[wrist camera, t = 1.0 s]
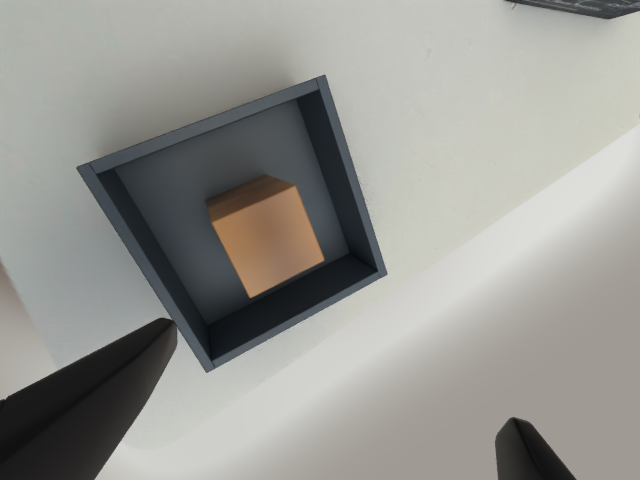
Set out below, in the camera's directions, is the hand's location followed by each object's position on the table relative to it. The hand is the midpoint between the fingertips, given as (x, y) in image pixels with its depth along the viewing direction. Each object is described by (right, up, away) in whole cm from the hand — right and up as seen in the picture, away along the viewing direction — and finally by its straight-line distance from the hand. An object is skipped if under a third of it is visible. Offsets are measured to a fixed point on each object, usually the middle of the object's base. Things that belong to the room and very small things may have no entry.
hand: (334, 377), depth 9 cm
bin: (-5, +5, +15) cm, 17 cm away
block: (-5, +5, +15) cm, 16 cm away
